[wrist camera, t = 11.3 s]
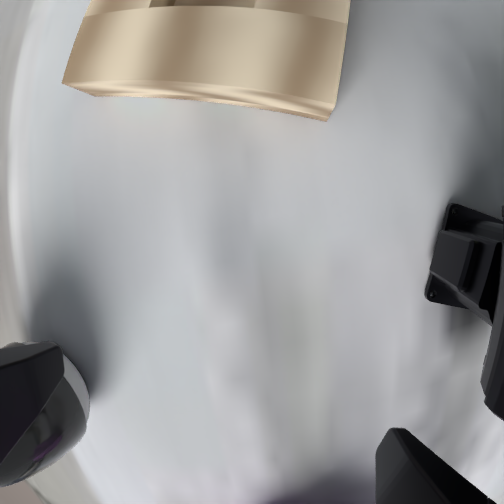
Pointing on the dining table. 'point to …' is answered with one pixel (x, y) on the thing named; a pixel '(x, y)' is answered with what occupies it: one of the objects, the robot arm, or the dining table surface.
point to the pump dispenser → (49, 428)
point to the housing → (214, 52)
